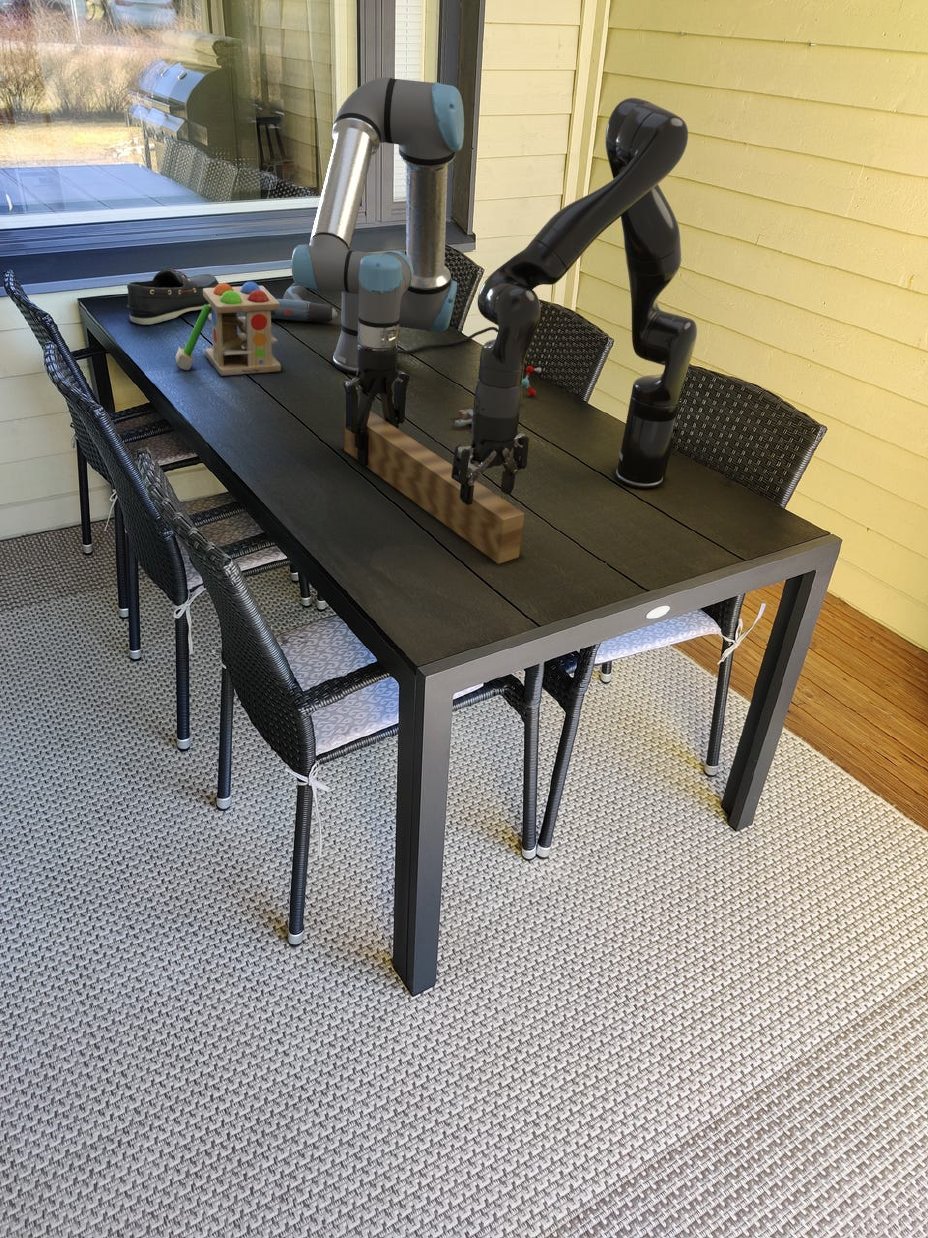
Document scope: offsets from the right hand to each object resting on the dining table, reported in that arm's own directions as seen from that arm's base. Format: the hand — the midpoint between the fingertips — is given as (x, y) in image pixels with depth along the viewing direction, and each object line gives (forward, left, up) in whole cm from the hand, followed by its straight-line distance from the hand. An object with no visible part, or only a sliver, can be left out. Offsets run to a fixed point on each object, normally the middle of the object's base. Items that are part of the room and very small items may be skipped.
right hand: (486, 497), depth 166 cm
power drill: (-46, -118, -9) cm, 127 cm away
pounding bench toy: (-7, -95, -9) cm, 96 cm away
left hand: (-4, -35, -8) cm, 36 cm away
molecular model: (-53, -45, -9) cm, 70 cm away
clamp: (-33, -34, -9) cm, 48 cm away
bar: (-2, -18, -9) cm, 20 cm away
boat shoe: (-18, -137, -9) cm, 139 cm away
